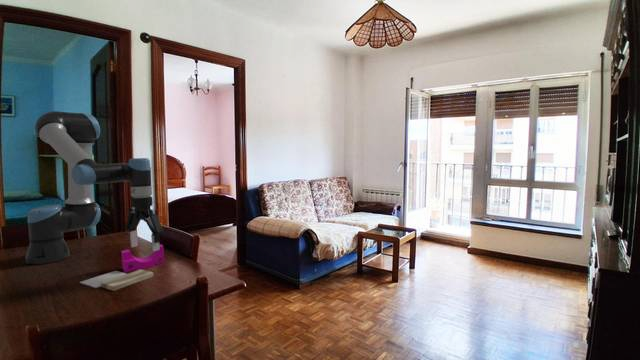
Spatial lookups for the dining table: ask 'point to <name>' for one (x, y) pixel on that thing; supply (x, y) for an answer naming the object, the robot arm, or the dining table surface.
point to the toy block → (141, 260)
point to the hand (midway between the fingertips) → (145, 248)
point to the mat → (102, 279)
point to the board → (126, 279)
